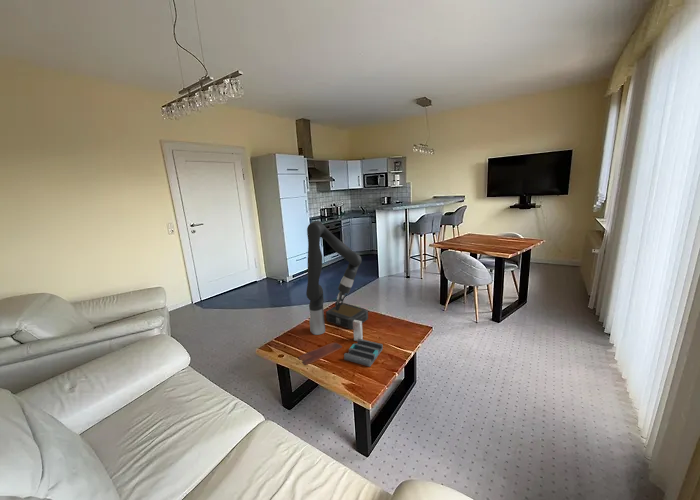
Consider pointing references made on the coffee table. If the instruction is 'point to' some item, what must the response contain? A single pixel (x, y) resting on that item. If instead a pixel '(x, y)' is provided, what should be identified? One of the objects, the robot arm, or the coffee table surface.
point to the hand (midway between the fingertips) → (336, 308)
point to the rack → (363, 352)
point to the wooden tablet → (319, 353)
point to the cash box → (346, 315)
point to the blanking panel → (357, 330)
